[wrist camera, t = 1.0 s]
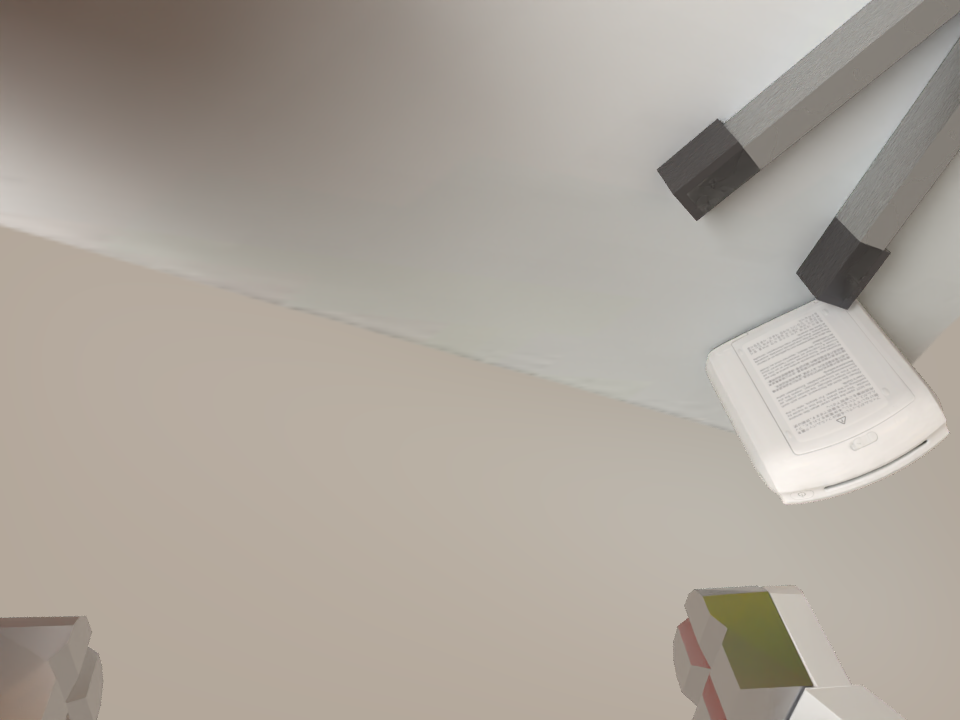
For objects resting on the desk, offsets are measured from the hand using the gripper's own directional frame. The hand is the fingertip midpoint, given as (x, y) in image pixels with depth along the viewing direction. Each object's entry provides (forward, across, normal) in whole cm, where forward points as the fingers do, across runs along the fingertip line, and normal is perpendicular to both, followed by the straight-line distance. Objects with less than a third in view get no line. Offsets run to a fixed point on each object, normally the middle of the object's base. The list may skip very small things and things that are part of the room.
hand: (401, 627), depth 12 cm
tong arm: (+34, -23, +1) cm, 41 cm away
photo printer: (+35, -26, +19) cm, 47 cm away
